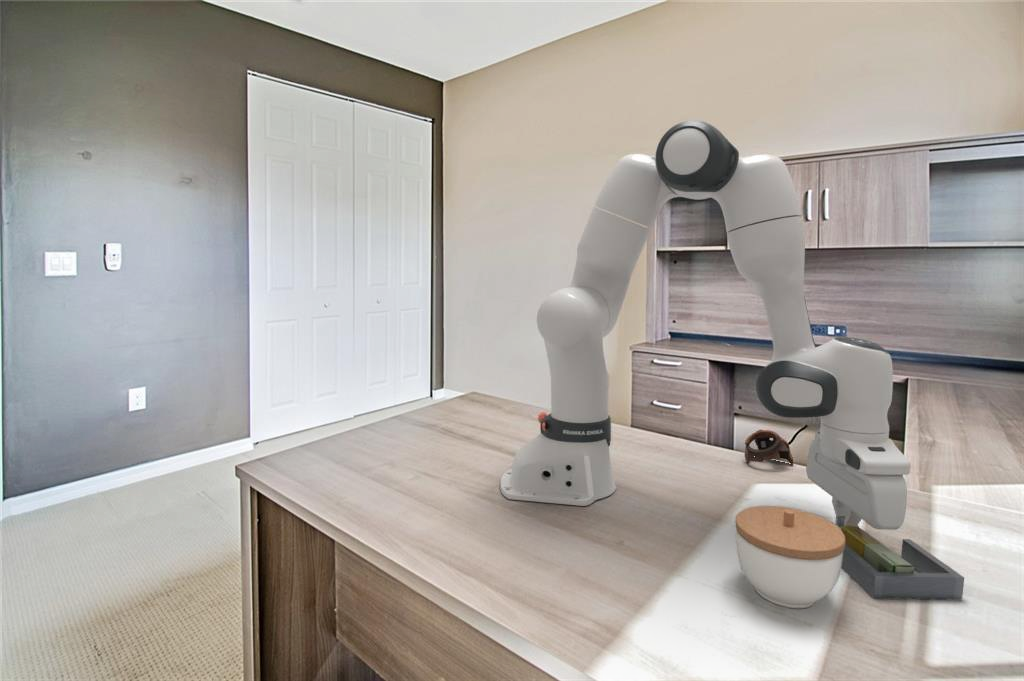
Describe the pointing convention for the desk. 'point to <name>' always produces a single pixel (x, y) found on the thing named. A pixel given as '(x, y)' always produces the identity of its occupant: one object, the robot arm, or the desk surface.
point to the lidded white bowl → (789, 554)
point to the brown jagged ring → (767, 447)
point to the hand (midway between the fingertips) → (845, 529)
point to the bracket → (906, 576)
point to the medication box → (874, 551)
